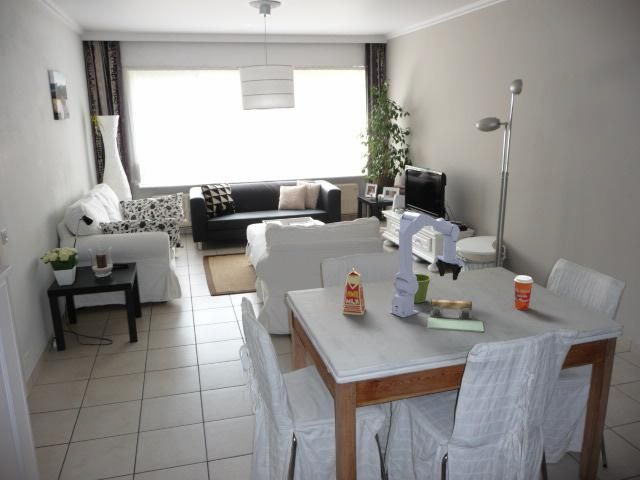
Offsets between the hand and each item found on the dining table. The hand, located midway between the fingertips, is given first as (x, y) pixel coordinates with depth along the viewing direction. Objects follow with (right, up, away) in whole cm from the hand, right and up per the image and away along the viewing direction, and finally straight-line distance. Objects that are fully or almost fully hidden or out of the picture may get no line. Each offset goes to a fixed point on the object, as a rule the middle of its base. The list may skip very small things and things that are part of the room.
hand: (448, 277), depth 245 cm
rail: (-4, -11, -19) cm, 23 cm away
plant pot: (-14, -11, +1) cm, 18 cm away
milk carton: (-44, -14, -10) cm, 48 cm away
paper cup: (+30, -13, -11) cm, 34 cm away
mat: (-4, -17, -28) cm, 34 cm away
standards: (-3, -15, -18) cm, 24 cm away
